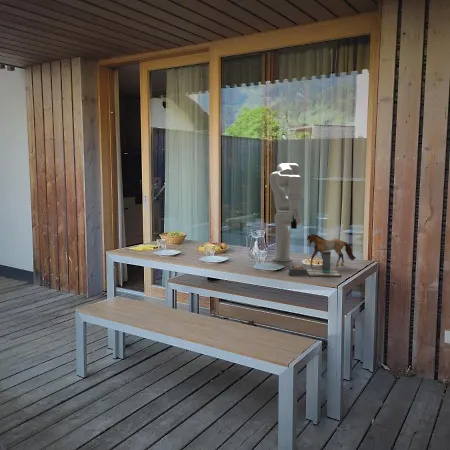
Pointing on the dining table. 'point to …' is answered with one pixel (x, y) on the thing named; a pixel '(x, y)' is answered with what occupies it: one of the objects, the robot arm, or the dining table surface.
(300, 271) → the button base
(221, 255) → the dining table surface
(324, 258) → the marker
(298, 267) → the button
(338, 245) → the horse figurine
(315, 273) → the board
